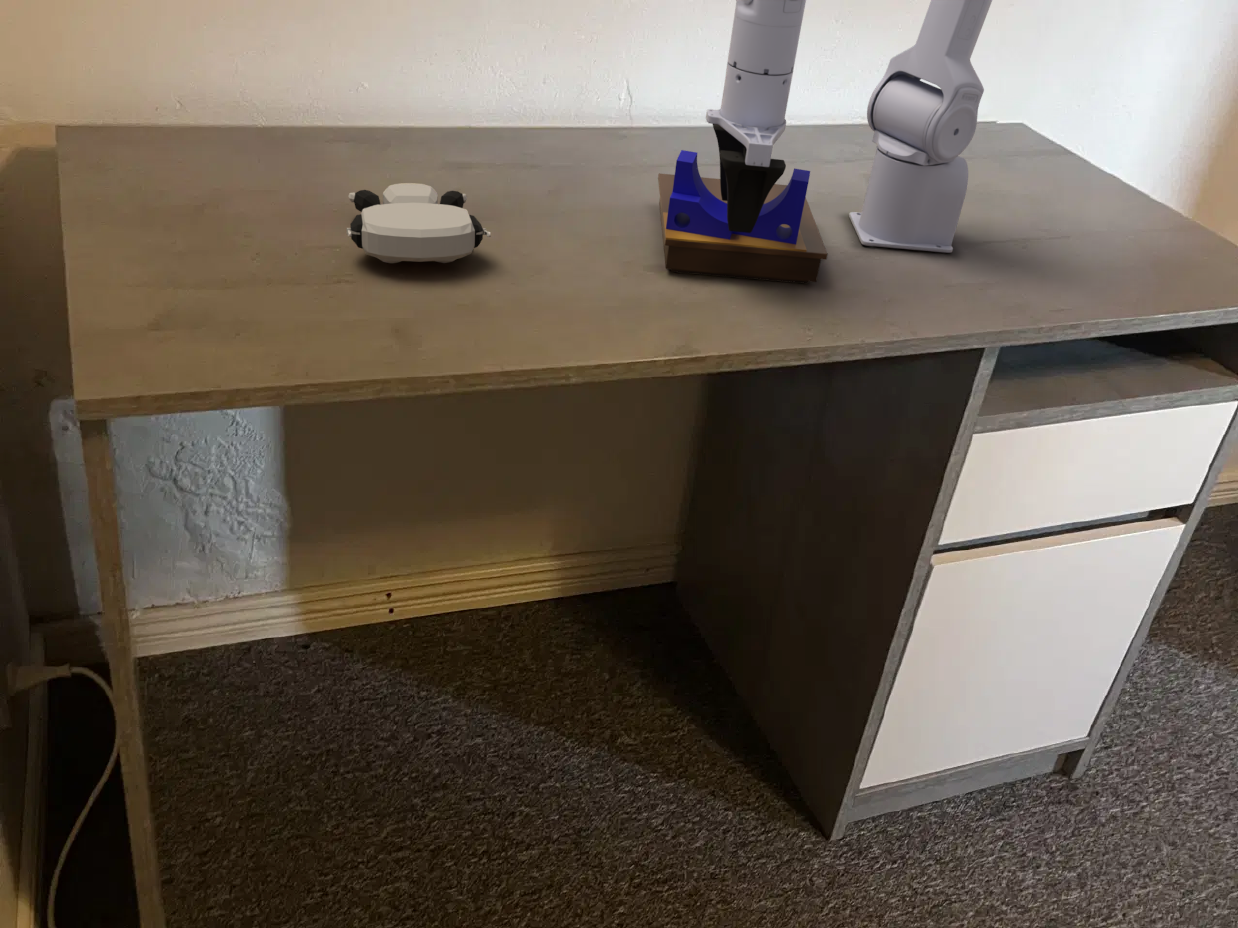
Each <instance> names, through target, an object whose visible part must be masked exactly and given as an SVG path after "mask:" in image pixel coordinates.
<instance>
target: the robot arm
mask: <svg viewBox="0 0 1238 928" xmlns="http://www.w3.org/2000/svg"><path fill="white" fill-rule="evenodd" d="M735 1H736V2H735V9H734V17H733V20H732V21H733V22H732V29H731V34H730V35H731V36H730V41H729V50H728V56H727V61H726V62H727V63H726V70H725V78H724V84H723V89H722V90H723V91H722V97H721V104H720V108H719V109H712V108H710V109H707V110H706V112H705V113H706V114H705V121H706V122H707V123H708V124H711V125H712V128H713V131H714V133H715V137H716V140H717V141H716V142H717V146H718V154H719V179H720V188H721V197H722V200H723V201H727V222H728V228H729V231H734V232H745V233H751V232H752V230H753V228H754V226H755V224H756V221H757V219H758V216H759V214H760V211H761V209H762V206H763V204H764V202H765V200H766V197H767V196H768V194H769V192H770V190H771V189H772V187H773V186H774V184H777V182H778V180H779V179H781V177H782V176H783V175H784V173H785V171H786V168H787V165H786V161H785V160H784V159H780V158H779V159H777V158H772V152H773V148H774V145H775V143H776V142H777V141H778V140H779V139H780V137H781V136H782V135H783V134H784V132H785V131H786V127H787V119H786V114H787V108H788V103H789V97H790V92H791V91H790V90H791V85H792V81H793V75H794V69H795V64H796V57H797V52H798V46H799V41H800V36H801V30H802V24H803V20H804V15H805V14H804V13H805V9H806V3H807V0H735ZM992 2H993V0H930V2H929V5H928V7H927V11H926V13H925V16H924V19H923V21H922V25H921V28H920V30H919V33H918V36H917V39H916V42H915V44H914V45H912V46H911V47H909V48H907V49H905V50H903V51H901V52H900V53H898V54H896V55H894V56H892V57H891V58H890V60H889V62H888V65H887V68H886V71H885V72H884V74H883V76H882V78H881V80H880V81H879V82H878V84H877V85H876V87H875V88H874V89H873V91H872V93H871V95H870V97H869V101H868V104H867V109H866V121H867V124H868V126H869V128H870V130H871V131H872V132H873V136H872V140H871V142H872V143H874V144H876V147H875V151H874V156H873V161H872V165H871V170H870V174H869V178H868V182H867V186H866V191H865V195H864V199H863V204H862V208H861V212H858V211H851V212H849V214H848V217H849V219H850V222H851V223H852V224H851V225H852V226H853V228H854V231H855V233H856V235H857V237H858V239H859V241H860V243H861V244H862V245H863V246H869V247H878V248H890V249H902V250H913V251H923V252H924V251H925V252H935V253H947V254H951V253H952V252H953V250H954V248H953V246H952V245H953V240H954V237H955V233H956V230H957V228H958V223H959V220H960V216H961V214H962V213H961V212H962V209H963V206H964V202H965V198H966V194H967V190H968V185H969V184H968V183H969V167H968V162H967V160H966V158H965V157H964V156H961V154H962V153H963V152H964V151H965V150H966V149H967V148H968V147H969V145H970V143H971V142H972V140H973V137H974V136H975V133H976V130H977V126H978V125H977V123H978V115H979V107H980V102H981V100H982V97H983V95H984V92H985V88H984V85H983V83H982V81H981V80H980V78H979V76H978V74H977V72H976V70H975V68H974V66H973V65H972V62H971V58H972V55H973V52H974V50H975V47H976V44H977V42H978V39H979V37H980V34H981V31H982V29H983V27H984V24H985V21H986V18H987V15H988V13H989V10H990V8H991V5H992ZM922 80H923V81H922ZM924 81H925V82H924ZM927 82H928V83H927ZM932 84H933V85H932Z"/></svg>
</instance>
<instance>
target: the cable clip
mask: <svg viewBox="0 0 1238 928" xmlns="http://www.w3.org/2000/svg"><path fill="white" fill-rule="evenodd" d="M674 175H675V176H674V184H673V192H672V194H671V196H670V201H669V208H668V216H667V224H666V229H670V230H676V231H682V232H688V233H694V234H700V235H706V236H711V237H717V238H723V239H729V240H730V238H731V235H732V234H737V235H743V236H749V237H755V238H761V239H767V240H772V241H778V242H784V243H790V244H796V242H797V237H798V232H799V227H800V222H801V217H802V212H803V207H804V202H805V197H806V196H807V192H808V187H809V181H810V177H811V176H810V175H811V170H807V169H800V168H793V172H792V174H791V177H790V180H789V181H788V183H787V184H786V185H787V186H786V188H785V189H784V190H783V192H782V193H781V194H780V195H778V196H777V197H776V198H775V199H773V200H771V201H770V202H768V203H766V204H763V206H762V209H761V211H760V214H759V216H758V219H757V221H756V224H755V226H754V228H753V230H752V232H751V233H745V232H734V231H729V228H728V222H727V203H725V202H723V201H721V200H719V199H718V198H716V197H715V196H714V195H713V194H712V193H711V192H710V191H709V190H708V189H707V188H706V186H705V185H704V183H703V181H702V179H701V177H702V176H701V174H700V171H699V166H698V152H696V151H692V150H691V151H690V150H684V149H681V150H680V152H679V154H678V157H677V159H676V162H675V169H674ZM806 198H807V197H806ZM782 224H786V225H789V226H790V227H788V228H785V227H782V226H781V225H782Z"/></svg>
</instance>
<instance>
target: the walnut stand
mask: <svg viewBox="0 0 1238 928" xmlns="http://www.w3.org/2000/svg"><path fill="white" fill-rule="evenodd" d="M674 176H675V174H670V173H669V174H668V173H658V175H657V181H658V191H659V201H658V206H659V217H660V224H661V225H660V226H661V234H662V245H663V246H662V247H663V254H664V255H663V256H664V261H665V262H664V264H665V269H666V270H670V272H671V273H679V274H680V273H681V274H692V275H704V276H714V277H715V276H716V277H725V278H726V277H727V278H738V279H750V280H759V281H760V280H761V281H772V282H785V283H798V284H807V285H808V284H809V283H811V282H812V283H817V281H818V276H819V271H820V266H821V263H822V262H821V261H822V260H827V259H828V255H829V254H828V252H827V248H826V246H825V244H824V241H823V239H822V236H821V233H820V230H819V229H818V225H817V223H816V220H815V218H814V215H813V212H812V210H811V208H810V205H809V203H808V200H807V197H805V202H804V207H803V212H802V217H801V222H800V227H799V232H798V237H797V242H796V244H790V243H784V242H778V241H772V240H767V239H761V238H755V237H749V236H743V235H737V234H732V235H731V238H730V240H729V239H723V238H717V237H711V236H706V235H700V234H694V233H688V232H682V231H676V230H670V229H666V224H667V216H668V208H669V201H670V196H671V194H672V192H673V184H674ZM700 177H701V179H702V181H703V183H704V185H705V186H706V188H707V189H708V190H709V191H710V192H711V193H712V194H713V195H714V196H715V197H716V198H718V199H719V200H721V201H723V200H722V197H721V188H720V178H712V177H703V176H700ZM787 185H788V184H780V183H779V184H778V183H775V184H774V186H773V187H772V189H771V190H770V192H769V194H768V196H767V197H766V200H765V202H764V204H766V203H768V202H770V201H771V200H773V199H775V198H776V197H777V196H778V195H780V194H781V193H782V192H783V190H784V189H785V188H786V186H787ZM723 202H725V203H727V201H723ZM781 226H782V227H785V228H788V227H790V226H789V225H786V224H782V225H781Z"/></svg>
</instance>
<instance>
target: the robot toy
mask: <svg viewBox="0 0 1238 928" xmlns="http://www.w3.org/2000/svg"><path fill="white" fill-rule="evenodd" d="M438 195H439V194H438V192H437V191H436V190H435V188H433V186H431V185H429V184H424V183H414V182H413V183H412V182H405V183H404V182H403V183H401V182H399V183H394V184H391V185H388V186H387V187H386V189H384V191H383V192H382V203H381V199H380V196H379V195H378V194H376V193H375V192H372V191H371V190H367V189H359V190H358V191H356V192H349V193H348V196H347V197H348V199H349V201H350V202H351V203H353V204H354V207H355V210H356V211H359V212H360V214H356V216H354V218H353V220H352V221H351V222H350V227H346V235H347V237H348V238H350V240H351V241H352V242H353V243H354V244H355V245H356V247H357V248H358V249H363V252H364V253H365V255H366V256H367V255H368V256H370V257H373V258H376V259H378V260H380V261H381V262H383V263H388V264H397V263H401V262H417V263H418V262H419V263H422V262H423V263H424V262H437V263H442V264H447V263H452V262H454V261H455V260H457V259H462V258H464V257H467V256H469V255H472V253H473V250H474V249H476V248H479V246H480V245H481V243H482V241H483V239H484V237H483V236H486V237H487V238H491V237H492V235H491V234H492V232H491V231H487V228H486V227H483V226H482V224H481V223H480V221H479V220H478V219H477V218H476V216H475V215H473V214H469V211H468V209H466V208H463V207H464V205H465V204H466V202H467V200H468V195H467V194H466V193H463V192H460V191H458V190H449V191H446V192H445V193H443V195H441V197H440V201H439V203H438V197H439V196H438Z"/></svg>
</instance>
